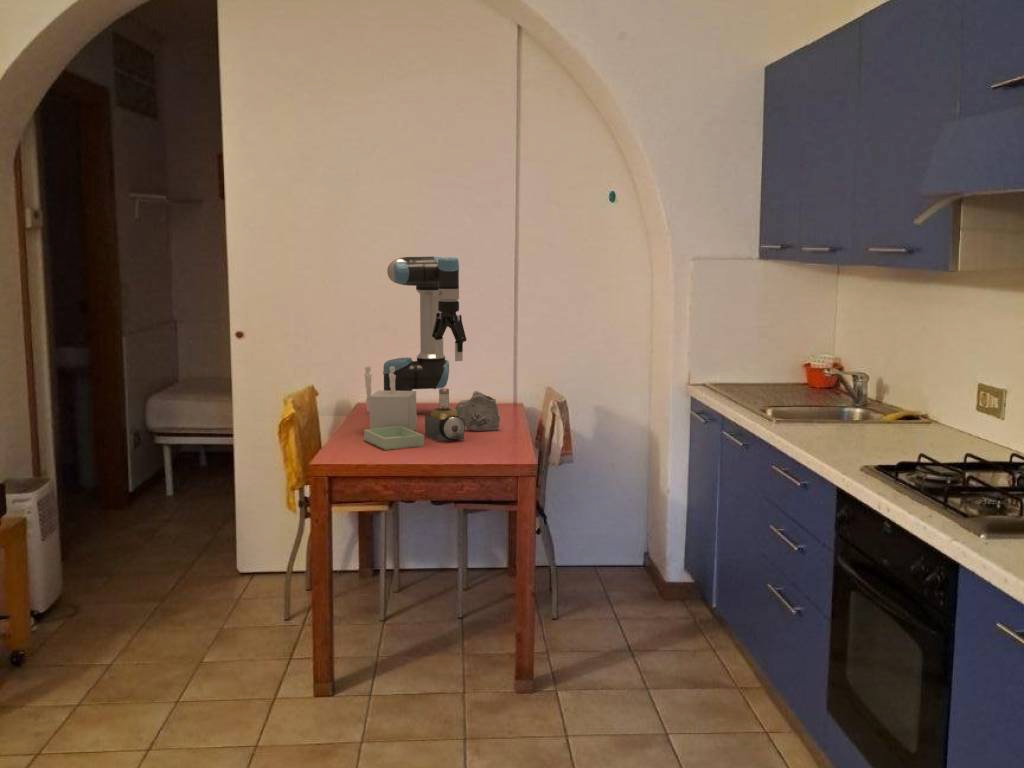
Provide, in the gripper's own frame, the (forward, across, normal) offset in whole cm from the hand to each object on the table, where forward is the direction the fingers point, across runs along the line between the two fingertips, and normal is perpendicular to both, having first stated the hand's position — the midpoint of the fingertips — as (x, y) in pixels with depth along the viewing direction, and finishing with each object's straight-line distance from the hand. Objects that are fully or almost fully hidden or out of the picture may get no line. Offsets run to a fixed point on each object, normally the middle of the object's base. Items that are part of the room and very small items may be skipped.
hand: (449, 359), depth 366 cm
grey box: (+29, -22, -14) cm, 39 cm away
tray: (+29, -2, -22) cm, 36 cm away
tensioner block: (+29, +1, -2) cm, 29 cm away
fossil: (+29, -6, +15) cm, 33 cm away
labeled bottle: (+21, 0, -2) cm, 21 cm away
